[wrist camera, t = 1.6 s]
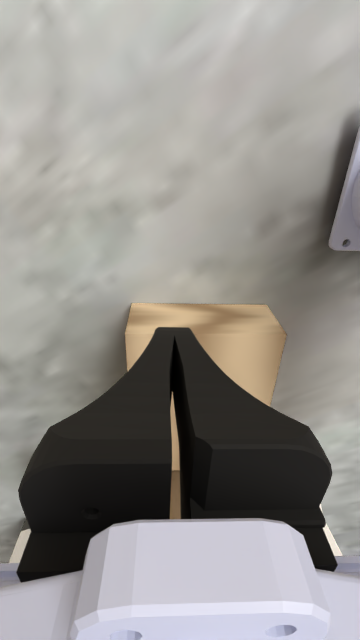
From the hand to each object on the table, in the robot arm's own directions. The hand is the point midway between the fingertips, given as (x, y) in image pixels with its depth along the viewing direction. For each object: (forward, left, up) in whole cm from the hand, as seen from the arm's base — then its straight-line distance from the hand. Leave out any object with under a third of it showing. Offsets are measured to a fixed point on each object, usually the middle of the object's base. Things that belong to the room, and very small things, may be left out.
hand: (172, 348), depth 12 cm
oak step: (-2, +9, -10) cm, 14 cm away
